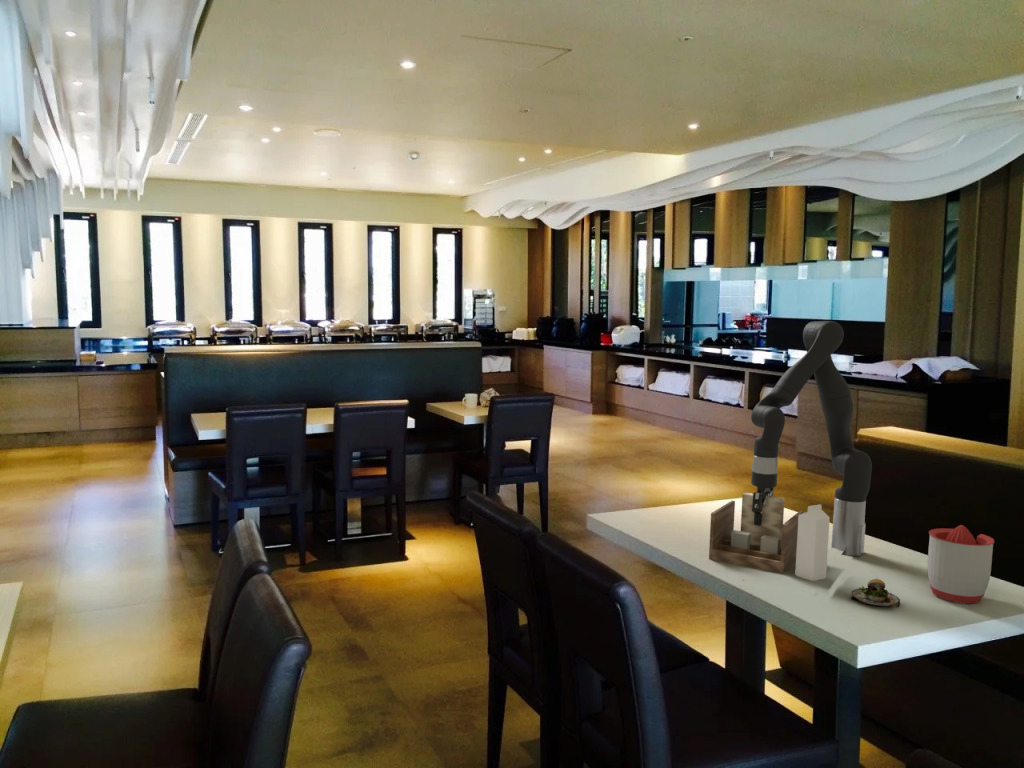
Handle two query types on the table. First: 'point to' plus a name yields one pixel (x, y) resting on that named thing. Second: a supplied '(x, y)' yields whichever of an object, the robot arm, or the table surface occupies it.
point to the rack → (752, 558)
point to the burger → (875, 594)
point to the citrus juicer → (959, 564)
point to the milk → (812, 544)
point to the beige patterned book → (770, 518)
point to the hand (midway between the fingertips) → (761, 522)
